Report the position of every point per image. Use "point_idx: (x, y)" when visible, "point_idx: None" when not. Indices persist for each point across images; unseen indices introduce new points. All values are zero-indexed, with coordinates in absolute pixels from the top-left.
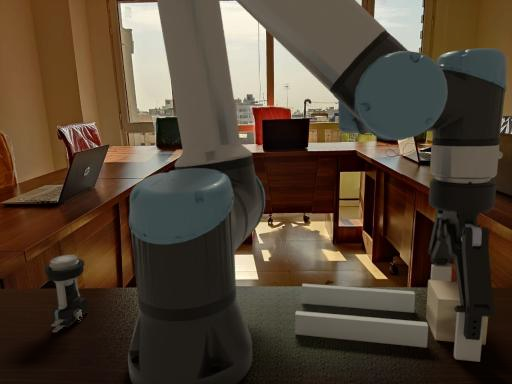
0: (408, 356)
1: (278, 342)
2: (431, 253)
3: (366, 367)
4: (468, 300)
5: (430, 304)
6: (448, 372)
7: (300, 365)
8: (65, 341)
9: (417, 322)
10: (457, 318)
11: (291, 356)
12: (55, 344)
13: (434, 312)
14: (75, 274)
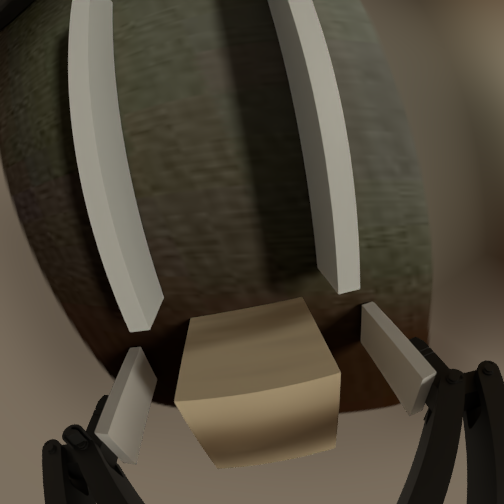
0: (95, 262)
1: (66, 5)
2: (477, 375)
3: (31, 185)
4: (45, 465)
5: (269, 341)
6: (90, 330)
7: (13, 76)
8: None
9: (134, 307)
10: (109, 412)
11: (30, 48)
12: None
13: (214, 352)
14: None
